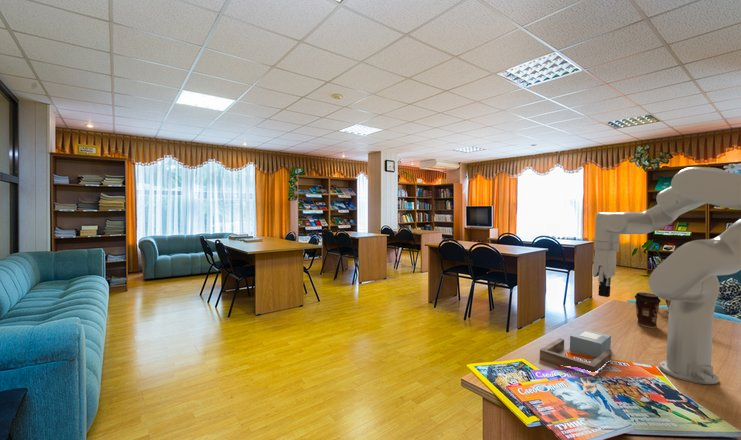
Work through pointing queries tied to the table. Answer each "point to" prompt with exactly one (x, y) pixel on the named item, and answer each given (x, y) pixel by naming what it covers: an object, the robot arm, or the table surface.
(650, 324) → the coffee cup
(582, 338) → the carton
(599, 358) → the display bay
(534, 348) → the table surface
